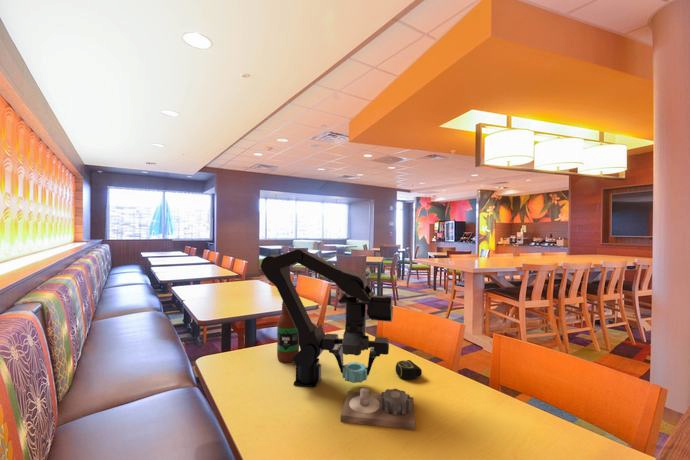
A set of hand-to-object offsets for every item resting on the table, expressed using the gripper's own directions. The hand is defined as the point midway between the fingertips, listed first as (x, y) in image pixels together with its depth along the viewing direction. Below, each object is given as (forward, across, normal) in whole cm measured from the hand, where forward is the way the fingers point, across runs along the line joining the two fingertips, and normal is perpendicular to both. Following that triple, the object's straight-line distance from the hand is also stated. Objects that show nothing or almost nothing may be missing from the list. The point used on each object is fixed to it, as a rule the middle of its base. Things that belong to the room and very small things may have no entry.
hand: (355, 373), depth 90 cm
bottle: (+4, -25, +15) cm, 30 cm away
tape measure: (+4, +15, +11) cm, 19 cm away
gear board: (+4, +7, -10) cm, 13 cm away
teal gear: (+1, 0, 0) cm, 1 cm away
